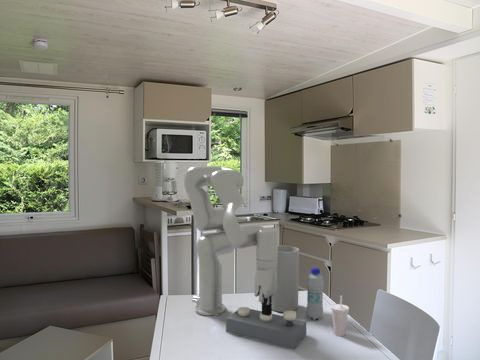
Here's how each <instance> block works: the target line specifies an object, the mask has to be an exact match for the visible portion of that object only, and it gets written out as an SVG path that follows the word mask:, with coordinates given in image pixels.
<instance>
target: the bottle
mask: <svg viewBox="0 0 480 360" xmlns="http://www.w3.org/2000/svg"><path fill="white" fill-rule="evenodd" d="M324 288H325V282H324V276H323V275H322V274H321V270H320V268H318V267H312V268H311V269H310V273H309V274H308V275H307V279H306V289H307V296H306V297H307V298H306V299H307V304H306V316H307V318H308V319H310V320H312V319H313V321H317V320H318V321H319V320H321V319H322V318H323V314H324V307H323V306H324V305H323V302H324V301H323V300H324V299H323V298H324V297H323V296H324ZM316 319H317V320H316Z"/></svg>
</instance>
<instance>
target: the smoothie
mask: <svg viewBox="0 0 480 360" xmlns="http://www.w3.org/2000/svg"><path fill="white" fill-rule="evenodd" d="M330 311H331V316H332V317H331V318H332V326H333V334H334V335H336V336H338V337H343V336H345V334H346V329H347V323H348V322H347V321H348V316H349V312H350V307H349V306H348V305H346V304H343V295H340V300H339V303H334V304H332V305H331V306H330Z"/></svg>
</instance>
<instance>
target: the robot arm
mask: <svg viewBox="0 0 480 360" xmlns="http://www.w3.org/2000/svg"><path fill="white" fill-rule="evenodd" d="M183 178H184V180H183V185H184V189H185V192H186V194H187V198H188V199H189V203H190V207H191V212H192V216H193V220H194V224H195V227H196V229H197V230H198V231H199V232H211V231H216V232H213V233H212V232H211V233H208V234H207V233H206V234H204V235H202V236H200V237H199V238H198V239H197V242H196V251H197V258H198V273H199V274H198V295H193V296H192V300H191V302H192V303H195V304H196V306H195V307H194V310H195V312H196V313H197V314H199V315H201V316H218V315H220V314H223V313H224V312H225V311H226V310H227V307H226V305H225V304H224V303H223V266H222V265H223V264H222V263H221V261H220V259H219V257H220V256H223V255H224V256H225V255H228V254H232V252H234V251H235V249H245V248H251V247H255V246H256V250H255V251H256V252H255V253H256V255H255V258H256V260H255V262H256V263H255V265H256V270H255V277H254V291H253V292H254V294H253V295H254V297H256V298H257V297H258V303H260V304H261V311H262V314H263V315H267V316H270V315H271V314H273V312H272V311H273V310H272V304H271V303H272V298H273V295H274V293H275V292H276V291H277V268H278V246H279V245H278V241H279V238H278V237H279V236H278V231H277V230H276V229H275V228H271V227H270V228H269V227H264V226H262V225H257V224H254V225H247V226H241V225H240V224H239V221H238V220H237V217H236V211H237V210H239V209H240V208H241V207H242V205H244V202H245V199H244V197H243V195H242V193H241V192H240V190H241V188H243V186H244V184H245V180H244V176H243V174H242V172H241V171H239V170H236V169H233V168H229V167H224V166H219V165H218V166H217V165H198V166H192V167H190V168H188V169H187V170H186V171H185V175H184V177H183ZM203 187H212V189H213V191H214V193H215V194H216V196H217V198H218V200H219V202H220V204H221V205H222V207H220V206H217V207H216V206H215V207H214V206H213V204H212V201H211V198H210V195H209V194H208V193H207V191H206V190H205V188H203Z"/></svg>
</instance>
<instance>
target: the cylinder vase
mask: <svg viewBox="0 0 480 360" xmlns="http://www.w3.org/2000/svg"><path fill="white" fill-rule="evenodd" d="M299 264H300V248H298V247H296V246H291V245H278V268H277V291H276V292H275V293H274V295H273V298H272V303H271V304H272V311H274V312H276V313H278V312H279V313H283V312H284V311H286V310H292V311H295V312H296V310H298V308H299V283H300V282H299V281H300V278H299V276H300V275H299V274H300V273H299V271H300V268H299V267H300V265H299Z"/></svg>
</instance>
